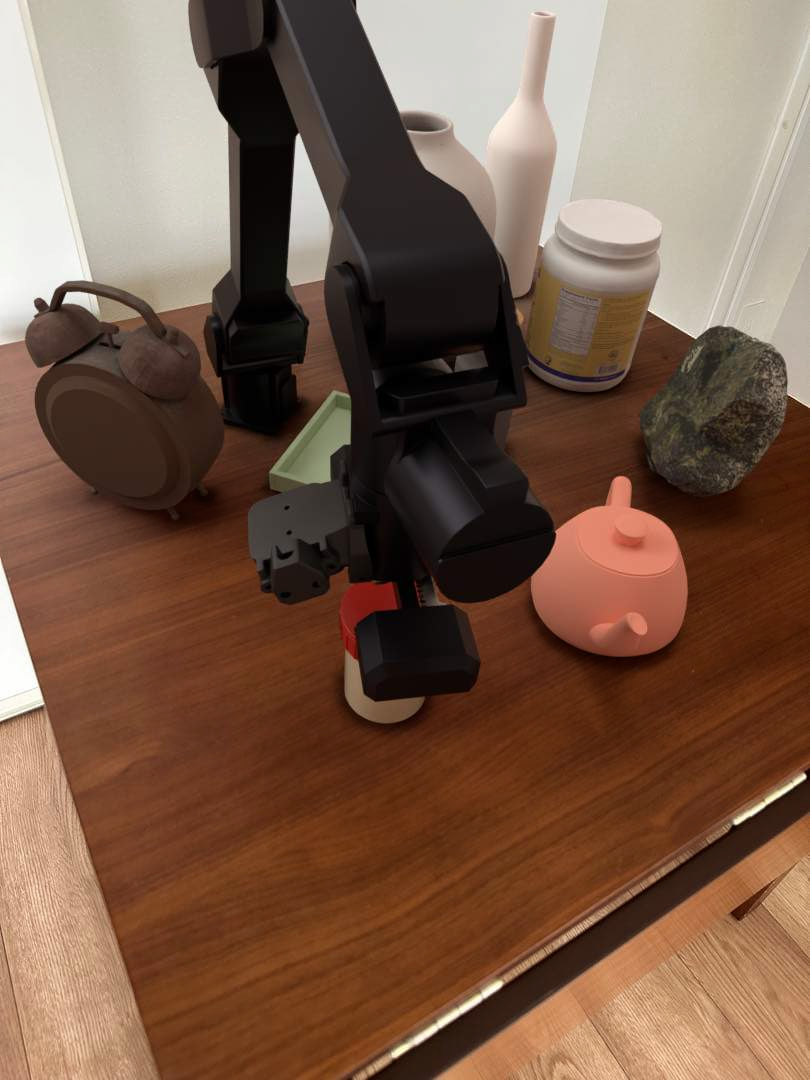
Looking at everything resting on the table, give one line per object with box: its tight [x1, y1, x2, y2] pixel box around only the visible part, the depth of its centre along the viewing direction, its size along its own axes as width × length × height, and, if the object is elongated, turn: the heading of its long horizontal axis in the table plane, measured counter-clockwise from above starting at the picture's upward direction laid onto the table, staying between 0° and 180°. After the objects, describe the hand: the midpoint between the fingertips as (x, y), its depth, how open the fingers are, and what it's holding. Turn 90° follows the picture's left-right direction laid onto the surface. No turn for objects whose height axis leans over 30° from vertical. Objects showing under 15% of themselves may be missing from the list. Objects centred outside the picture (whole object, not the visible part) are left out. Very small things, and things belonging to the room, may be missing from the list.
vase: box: [328, 109, 497, 366], centre depth 81 cm, size 17×17×24 cm
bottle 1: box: [483, 10, 558, 299], centre depth 91 cm, size 8×8×30 cm
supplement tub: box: [524, 198, 664, 393], centre depth 83 cm, size 12×12×17 cm
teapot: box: [530, 475, 689, 658], centre depth 59 cm, size 12×18×10 cm
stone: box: [637, 324, 789, 498], centre depth 70 cm, size 15×10×15 cm
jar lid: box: [338, 581, 441, 661], centre depth 51 cm, size 7×7×2 cm
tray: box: [268, 389, 351, 493], centre depth 74 cm, size 11×14×2 cm
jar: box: [343, 649, 426, 724], centre depth 54 cm, size 6×6×8 cm
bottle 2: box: [453, 308, 525, 452], centre depth 71 cm, size 6×6×15 cm
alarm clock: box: [24, 279, 225, 521], centre depth 62 cm, size 15×7×20 cm, turn 71°
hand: (389, 640), depth 53 cm, fingers closed on jar lid, 6 cm apart
